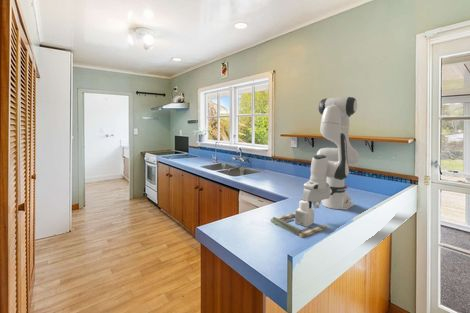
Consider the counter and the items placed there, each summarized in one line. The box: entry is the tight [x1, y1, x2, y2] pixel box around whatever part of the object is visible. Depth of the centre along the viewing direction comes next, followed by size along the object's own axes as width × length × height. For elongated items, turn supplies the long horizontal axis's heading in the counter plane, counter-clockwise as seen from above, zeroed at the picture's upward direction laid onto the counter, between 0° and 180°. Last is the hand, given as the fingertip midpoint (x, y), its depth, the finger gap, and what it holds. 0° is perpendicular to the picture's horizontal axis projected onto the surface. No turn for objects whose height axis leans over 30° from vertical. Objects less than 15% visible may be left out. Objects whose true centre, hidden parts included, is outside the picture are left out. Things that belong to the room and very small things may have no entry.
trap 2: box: [301, 226, 314, 233], centre depth 125 cm, size 10×3×1 cm, turn 124°
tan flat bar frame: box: [270, 211, 328, 238], centre depth 132 cm, size 20×22×3 cm
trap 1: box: [282, 217, 295, 223], centre depth 136 cm, size 10×3×1 cm, turn 124°
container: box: [294, 198, 315, 228], centre depth 134 cm, size 8×8×13 cm
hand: (316, 207), depth 139 cm, fingers closed
